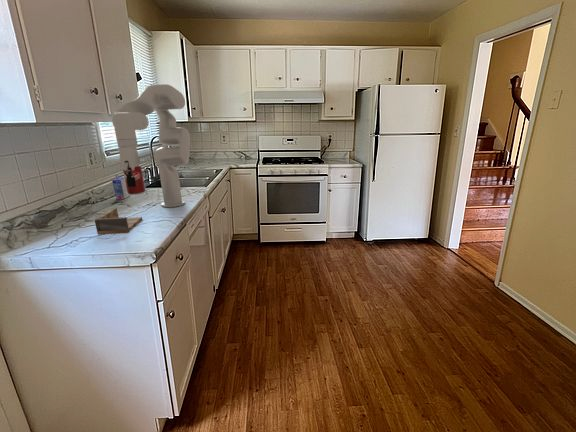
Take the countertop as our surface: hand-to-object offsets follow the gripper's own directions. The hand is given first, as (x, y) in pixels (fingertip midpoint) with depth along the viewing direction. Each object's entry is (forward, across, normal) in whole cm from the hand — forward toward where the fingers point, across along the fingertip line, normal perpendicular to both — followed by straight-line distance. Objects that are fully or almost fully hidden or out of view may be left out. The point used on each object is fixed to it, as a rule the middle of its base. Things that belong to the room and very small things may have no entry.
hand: (135, 184), depth 134 cm
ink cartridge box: (+19, -61, -29) cm, 70 cm away
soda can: (+4, 0, 0) cm, 4 cm away
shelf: (+18, +2, -8) cm, 20 cm away
